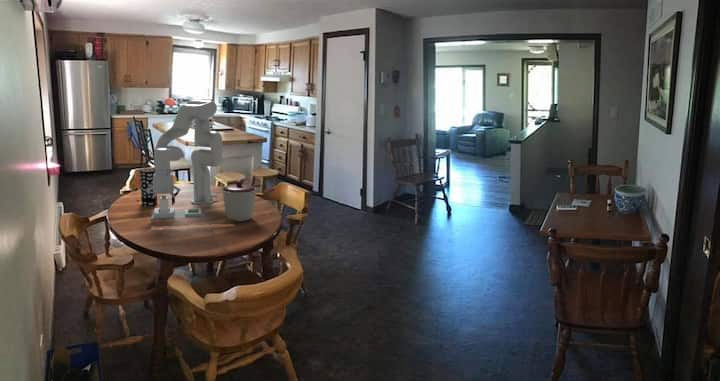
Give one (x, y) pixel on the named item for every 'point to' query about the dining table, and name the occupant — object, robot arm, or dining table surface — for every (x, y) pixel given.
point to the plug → (164, 204)
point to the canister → (239, 201)
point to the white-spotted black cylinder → (146, 183)
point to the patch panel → (177, 213)
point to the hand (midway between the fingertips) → (164, 204)
